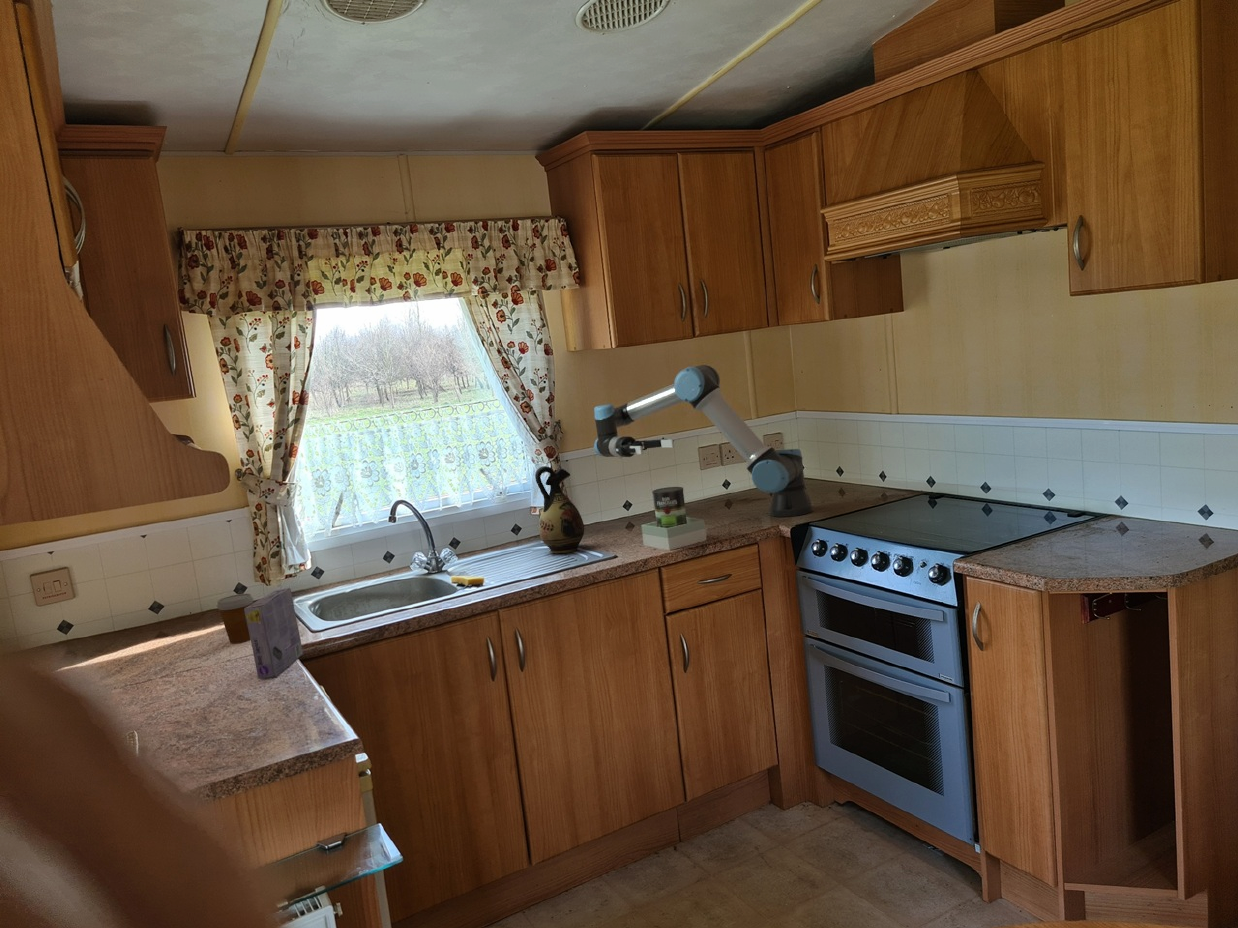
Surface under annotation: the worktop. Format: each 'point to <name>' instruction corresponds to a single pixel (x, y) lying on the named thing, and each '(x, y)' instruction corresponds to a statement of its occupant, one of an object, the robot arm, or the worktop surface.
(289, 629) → the cake pan box
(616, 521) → the worktop surface
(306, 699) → the worktop surface
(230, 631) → the disposable coffee cup
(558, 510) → the ceramic jug
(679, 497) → the coffee can
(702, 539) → the open rectangular storage box
